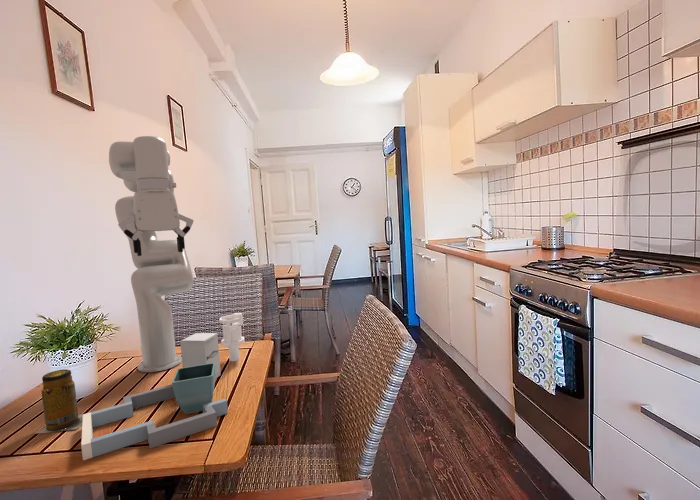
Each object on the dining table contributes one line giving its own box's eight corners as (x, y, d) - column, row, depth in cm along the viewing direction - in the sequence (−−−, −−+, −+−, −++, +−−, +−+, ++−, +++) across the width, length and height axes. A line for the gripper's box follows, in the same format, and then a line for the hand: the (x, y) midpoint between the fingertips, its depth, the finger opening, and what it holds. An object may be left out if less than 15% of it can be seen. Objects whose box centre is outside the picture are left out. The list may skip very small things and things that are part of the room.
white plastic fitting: (242, 363, 119) (238, 316, 118) (219, 364, 120) (215, 317, 118) (248, 355, 126) (245, 310, 125) (227, 356, 127) (223, 311, 125)
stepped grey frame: (84, 420, 89) (83, 407, 88) (207, 385, 104) (206, 375, 104) (82, 471, 70) (80, 455, 69) (233, 420, 85) (232, 407, 85)
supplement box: (207, 386, 104) (203, 340, 103) (183, 385, 105) (178, 340, 104) (221, 375, 111) (218, 332, 110) (198, 374, 112) (195, 332, 111)
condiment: (57, 417, 91) (51, 368, 90) (94, 414, 92) (89, 365, 91) (35, 434, 84) (28, 381, 83) (76, 430, 84) (69, 377, 83)
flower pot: (175, 420, 86) (171, 382, 85) (180, 403, 95) (177, 368, 94) (216, 413, 89) (212, 375, 88) (218, 396, 97) (215, 362, 96)
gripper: (186, 188, 106) (192, 250, 107) (113, 188, 96) (120, 256, 97) (193, 185, 99) (198, 251, 101) (115, 185, 90) (123, 258, 91)
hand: (160, 253), depth 99 cm, fingers open, 9 cm apart
